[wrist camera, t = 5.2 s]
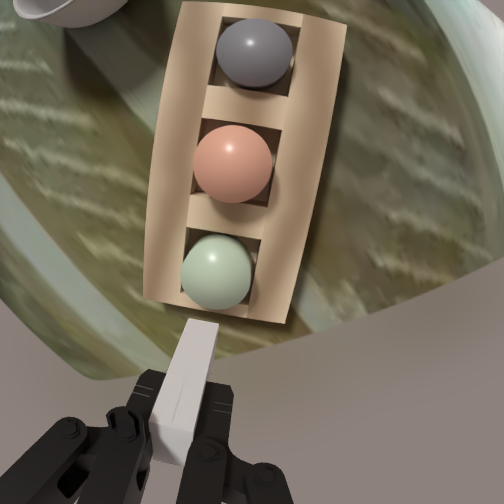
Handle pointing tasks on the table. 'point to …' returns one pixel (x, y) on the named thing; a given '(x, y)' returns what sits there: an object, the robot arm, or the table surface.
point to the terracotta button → (232, 164)
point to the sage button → (217, 271)
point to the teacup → (67, 11)
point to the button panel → (258, 120)
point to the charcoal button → (254, 54)
